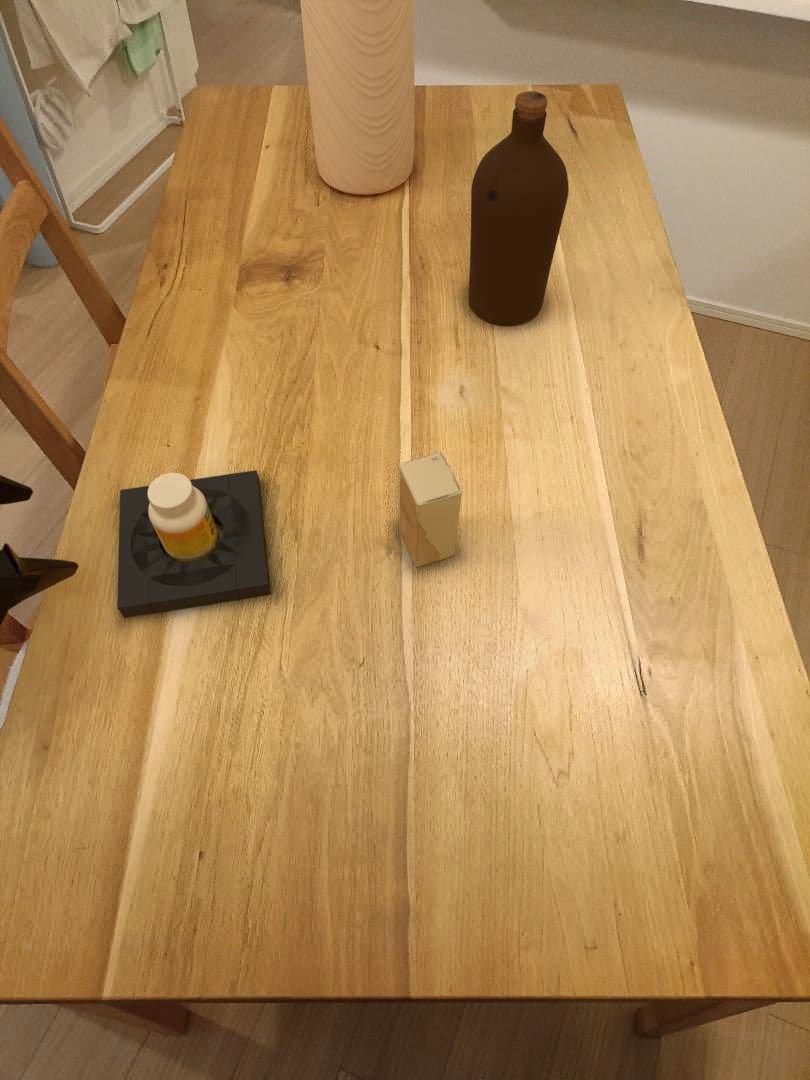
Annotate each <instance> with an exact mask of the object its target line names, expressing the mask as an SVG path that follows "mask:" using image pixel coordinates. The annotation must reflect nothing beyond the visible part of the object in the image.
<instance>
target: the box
mask: <svg viewBox="0 0 810 1080" xmlns="http://www.w3.org/2000/svg"><path fill="white" fill-rule="evenodd" d="M398 473H399V474H398V478H399V479H398V480H399V481H398V482H399V485H398V489H399V490H398V493H399V494H398V509H399V510H398V513H399V514H398V530H399V533H400V535H401V538H402V540H403V542H404V544H405V547H406V550H407V551H408V554H409V556H410V558H411V560H412V562H413V565H414V566H415V567H416V568H419V567H424V566H426V565H429V564H432V563H436V562H439V561H442V560H445V559H448V558H451V557H453V556H455V551H456V543H457V535H458V529H459V528H458V527H459V519H460V511H461V503H462V494H463V490H462V488H461V486H460V484H459V481H458V480H457V478H456V476H455V474H454V472H453V470H452V469H451V467H450V464H449V462H448V461H447V459H446V458H445V455H444V453H443V452H442V451H437V452H433V453H429V454H426V455H422V456H419V457H417V458H413V459H411V460H408V461H405V462H401V463H399V465H398Z"/></svg>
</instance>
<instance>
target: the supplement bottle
mask: <svg viewBox="0 0 810 1080" xmlns="http://www.w3.org/2000/svg"><path fill="white" fill-rule="evenodd" d="M190 480H191V479H189V477H187V476H186V475H185V474H183V473H181V472H167V473H163V474H160V475H159V476H158V477H156V478H155V479H153V480H152V482H150V484H149V485H148V486H149V488H148V498H149V501H150V504H149V508H148V514H149V518H150V520H151V522H152V524H153V526H154V528H155V530H156V532H157V534H158V536H159V538H160V540H161V542H162V544H163V546H164V551H165V552H166V555H167V557H169V558H170V559H172V560H173V561H179V562H184V563H187V562H193V561H199V560H201V559H203V558H205V557H207V556H209V555H210V554H211V553H212V552H213V551H214V550H215V549H216V548H217V547H218V546H219V544H220V542H221V538H220V535H219V532H218V529H217V527H216V526H217V525H216V524H215V523H214V521H213V518H212V515H211V513H210V510H209V507H208V504H207V502H206V499H205V497H204V495H203V494H202V493H201V491H199V490H198V489H197V488H195V487H194V486H192V483H191V481H190Z"/></svg>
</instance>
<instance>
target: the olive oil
mask: <svg viewBox="0 0 810 1080" xmlns="http://www.w3.org/2000/svg"><path fill="white" fill-rule="evenodd" d="M547 107H548V98H547V96H546V95H545V94H543V93H541V92H538V91H534V90H530V91H529V90H527V91H523V92H520V93H519V94H517V95H516V97H515V101H514V109H513V110H512V117H511V118H512V119H511V131H510V133H509V134H508V135H507V136H506V137H504V138H503V139H501V140H500V141H499V142H498V143H496V144H495V145H494V146H493V147H492V148H491V149H489V150H488V151H487V152H486V153H485V154H484V155H483V157H482V158H481V159H480V161H479V163H478V166H477V167H476V170H475V172H474V175H473V178H472V183H471V188H470V189H471V190H470V192H471V193H470V240H469V241H470V244H469V273H468V275H469V276H468V296H467V297H468V304H469V307H470V309H471V310H472V312H473V313H474V314H475V315H476V316H477V317H478V318H480V319H481V320H483V321H486V322H487V323H490V324H492V325H497V326H503V327H504V326H506V327H507V326H508V327H509V326H510V327H511V326H518V325H522V324H525V323H528V322H529V321H531V320H533V319H534V318H536V317H537V316H538V315H539V313H540V312H541V310H542V308H543V304H544V299H545V295H546V290H547V286H548V282H549V277H550V273H551V268H552V264H553V259H554V255H555V252H556V246H557V244H558V243H557V242H558V238H559V235H560V230H561V228H562V227H561V226H562V224H563V219H564V215H565V210H566V207H567V203H568V197H569V192H570V191H569V190H570V187H569V177H568V171H567V167H566V165H565V163H564V161H563V159H562V157H561V156H560V155H559V153H558V152H557V151H556V150H555V149H554V147H553V145H552V144H550V142H549V141H548V140H547V139H546V137H545V136H544V131H545V126H546V120H547V116H548V115H547V111H546V109H547Z"/></svg>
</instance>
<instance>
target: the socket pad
mask: <svg viewBox="0 0 810 1080" xmlns="http://www.w3.org/2000/svg"><path fill="white" fill-rule="evenodd" d="M189 480H190V481H191V483H192V486H194V487H195V488H197V489H198V490H199V491H201V493H202V494H203V495H204V497H205V499H206V502H207V504H208V507H209V510H210V513H211V515H212V518H213V521H214V523H215V526H218V527H220V529H221V530H222V536H221V538H220V544H219V546H218V547H217V548H216V549H215V550H214V551H213V552H212V553H211V554H210V555H209V556H207V557H205V558H203V559H201V560H199V561H193V562H187V563H184V562H179V561H173V560H172V559H170V558H169V556H168V555H167V554H165V549H164V546H163V544H162V542H161V540H160V538H159V536H158V534H157V532H156V530H155V528H154V526H153V524H152V522H151V520H150V518H149V514H148V508H149V504H150V501H149V498H148V488H149V486H150V485H144V486H139V487H131V488H123V489H120V490H119V521H118V523H119V525H118V561H117V562H118V565H117V566H118V567H117V605H116V606H117V607H116V608H117V610H118V611H119V613H120V615H121V616H122V618H124V619H126V618H133V617H139V616H146V615H151V614H158V613H164V612H165V613H166V612H172V611H177V610H182V609H183V610H184V609H190V608H195V607H202V606H207V605H214V604H218V603H221V604H222V603H225V602H233V601H238V600H239V601H240V600H244V599H250V598H255V597H262V596H268V595H271V594H272V590H271V581H270V570H269V560H268V552H267V551H268V550H267V540H266V531H265V520H264V512H263V500H262V492H261V482H260V478H259V474H258V471H257V470H255V469H254V470H248V471H242V472H234V473H228V474H221V475H215V476H214V475H213V476H207V477H200V478H191V479H189Z"/></svg>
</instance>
